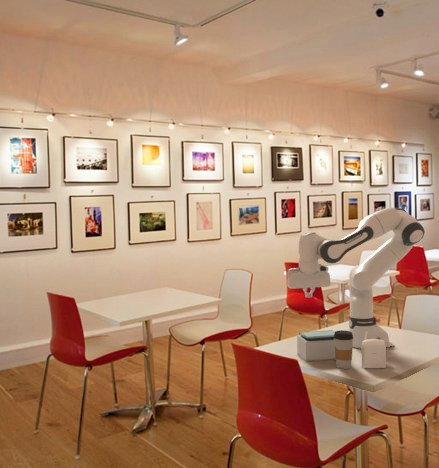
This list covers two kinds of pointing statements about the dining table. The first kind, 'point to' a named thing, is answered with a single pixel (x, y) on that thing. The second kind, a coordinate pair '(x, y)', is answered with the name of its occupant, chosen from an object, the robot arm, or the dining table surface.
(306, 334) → the cover
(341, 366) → the coffee cup
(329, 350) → the white box
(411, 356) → the dining table surface
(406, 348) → the dining table surface
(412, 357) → the dining table surface
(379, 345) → the photo printer
